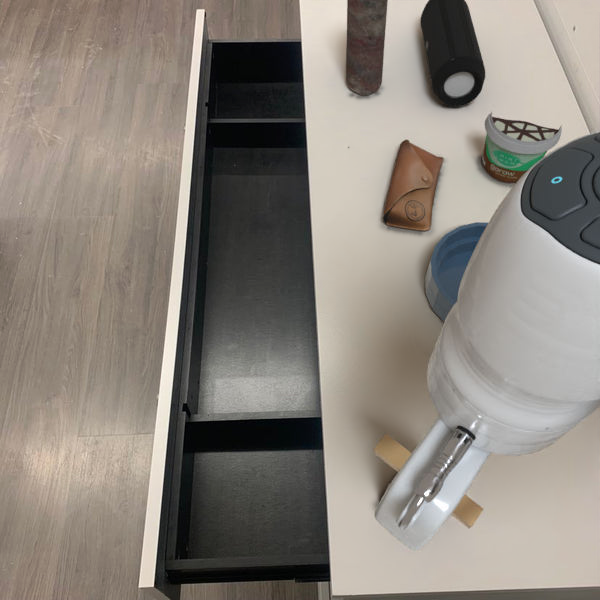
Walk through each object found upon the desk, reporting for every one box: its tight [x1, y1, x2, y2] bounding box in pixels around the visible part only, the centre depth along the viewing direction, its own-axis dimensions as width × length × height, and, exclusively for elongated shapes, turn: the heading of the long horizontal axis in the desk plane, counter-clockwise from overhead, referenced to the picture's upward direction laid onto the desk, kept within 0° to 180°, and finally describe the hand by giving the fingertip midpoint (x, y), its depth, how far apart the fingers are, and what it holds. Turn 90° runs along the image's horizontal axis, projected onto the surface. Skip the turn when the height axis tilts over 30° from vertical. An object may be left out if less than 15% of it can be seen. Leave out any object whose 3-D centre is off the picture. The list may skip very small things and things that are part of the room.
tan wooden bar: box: [372, 433, 484, 529], centre depth 55 cm, size 12×2×1 cm, turn 49°
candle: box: [345, 0, 388, 96], centre depth 100 cm, size 8×7×20 cm
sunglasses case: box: [382, 139, 445, 232], centre depth 92 cm, size 18×7×7 cm
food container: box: [481, 110, 563, 184], centre depth 90 cm, size 12×6×10 cm, turn 70°
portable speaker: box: [419, 0, 486, 108], centre depth 105 cm, size 26×10×10 cm, turn 179°
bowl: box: [424, 221, 489, 323], centre depth 79 cm, size 17×17×6 cm
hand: (456, 441), depth 43 cm, fingers open, 8 cm apart
